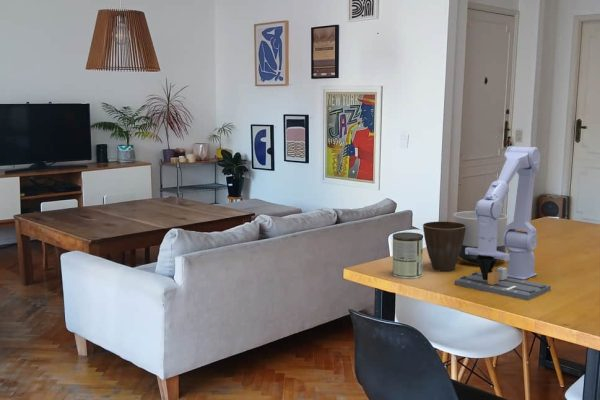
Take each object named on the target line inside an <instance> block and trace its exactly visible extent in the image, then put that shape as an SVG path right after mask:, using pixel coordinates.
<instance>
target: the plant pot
mask: <svg viewBox="0 0 600 400" xmlns="http://www.w3.org/2000/svg"><path fill="white" fill-rule="evenodd" d="M422 227H423V228H422V229H423V238H424V241H425V246H426V251H427V254H428V258H429V260H430V264H431V266H432V269H433V270H434V269H435V271H438V270H440V272H450V271H451V270H452V271H454V270H455V268H456V267H457V262H458V260H459V258H460V257H459V255H460V252H461V248H462V244H463V240H464V235H465V229H466V225H465V224H462V223H457V222H453V221H430V222H424V223H423V224H422ZM452 271H451V272H452Z"/></svg>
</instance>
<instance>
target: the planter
mask: <svg viewBox="0 0 600 400" xmlns="http://www.w3.org/2000/svg"><path fill="white" fill-rule="evenodd" d="M452 218H453V219H452V222H457V223H462V224H465V225H466V229H465V235H464V240H463V244H462V248H461V252H460V255H459V258H460V259H462V260H464V261H465V262H468V263H470V264H475V265H476V264H477V265H478V263H477V261H476V258H478V255H472V254H465V248H468V247H470V248H478V223H479V222H477V216H476V214H475V210H466V211H459V212H455V213H453V216H452ZM507 225H508V215H507V214H504V213H501V215H500V216H499V218H498V220H497V250H496V251H499V252H503V253H507V250H506V247H505V246H504V243H503V236H504V233H505V230H506V226H507Z"/></svg>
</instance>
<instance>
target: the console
mask: <svg viewBox="0 0 600 400" xmlns="http://www.w3.org/2000/svg"><path fill="white" fill-rule="evenodd" d="M454 285H455V286H458V285H459V286H458V287H463V286H464V287H463V288H468V289H472V290H477V291H483V292H487V293H492V294H496V295H502V296H507V297H511V298H514V299H515V298H516V299H520V300H524V301H530V300H532V299H534V298H536V297H538V296H541V295H543V294H546V293H548V292H550V291H551V287H552V286H551V285H549V284H544V283H538V282H532V281H528V280H522V279H517V278H512V277H507V279H504V280H498V283H497V284H494V285H491V284H488V280H483V278H482V273H481V271H479V272H476V271H474V272H473V273H471V274H469V275H466V276H465V275H464V276H460V277H459V278H458V279H454Z"/></svg>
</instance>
